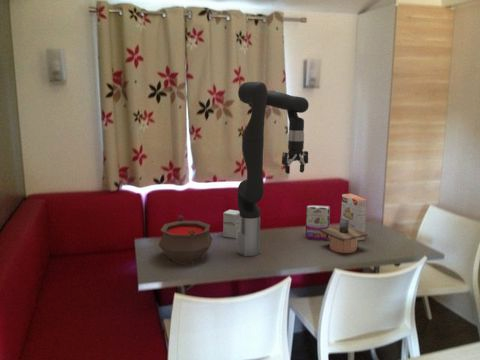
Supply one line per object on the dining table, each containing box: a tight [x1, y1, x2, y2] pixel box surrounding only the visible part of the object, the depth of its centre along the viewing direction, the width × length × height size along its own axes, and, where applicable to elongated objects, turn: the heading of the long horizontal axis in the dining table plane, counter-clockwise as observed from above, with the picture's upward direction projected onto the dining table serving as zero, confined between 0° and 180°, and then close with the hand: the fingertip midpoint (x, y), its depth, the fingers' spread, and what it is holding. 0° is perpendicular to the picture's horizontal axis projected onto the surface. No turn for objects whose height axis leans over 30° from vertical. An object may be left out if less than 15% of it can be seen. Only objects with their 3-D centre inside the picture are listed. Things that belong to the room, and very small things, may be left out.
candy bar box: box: [305, 204, 331, 241], centre depth 207 cm, size 11×5×16 cm, turn 73°
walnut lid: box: [320, 218, 368, 241], centre depth 193 cm, size 15×15×6 cm
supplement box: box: [222, 209, 240, 239], centre depth 210 cm, size 7×7×13 cm
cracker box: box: [340, 193, 368, 242], centre depth 210 cm, size 14×6×21 cm, turn 17°
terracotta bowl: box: [329, 236, 358, 254], centre depth 195 cm, size 12×12×7 cm
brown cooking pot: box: [158, 215, 213, 264], centre depth 181 cm, size 24×24×16 cm
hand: (294, 172), depth 204 cm, fingers open, 8 cm apart
